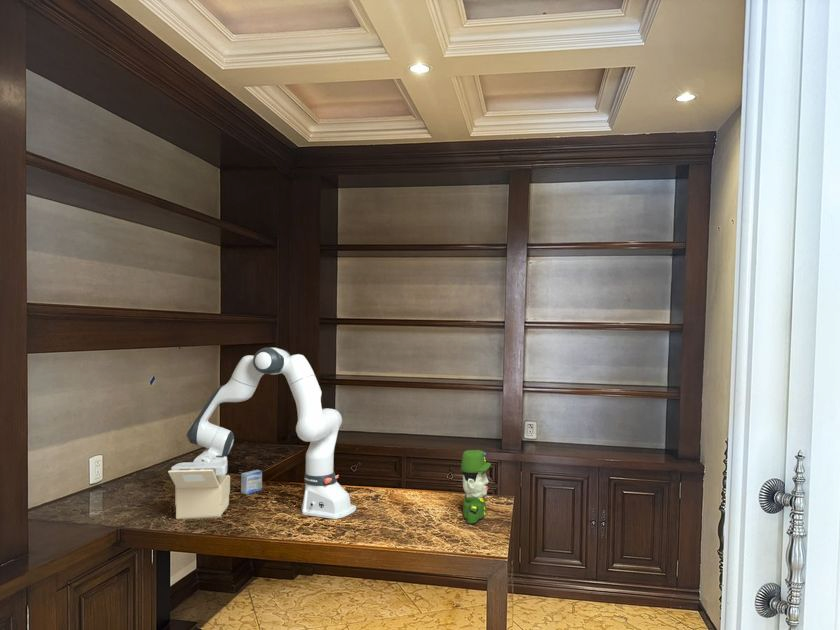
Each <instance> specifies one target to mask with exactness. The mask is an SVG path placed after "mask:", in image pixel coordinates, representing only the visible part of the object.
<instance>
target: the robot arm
mask: <svg viewBox="0 0 840 630" xmlns="http://www.w3.org/2000/svg"><path fill="white" fill-rule="evenodd" d="M281 374H282V375H283V376H285V378H286V381H287V383H288V386H289V389H290V391H291V393H292V396H293V399H294V401H295V405H296V411H297V423H296V425H295V432H296V434H297V437H298V438H299V439H300V440H302V441H303V442H307V443H308V442H310V443H309V446H308V449H307V450H306V453H305V472H304V483H305V484H304V493H303V500H302V504H301V509H300V510H301V514H302V515H305V516H311V517H317V518H326V519H332V520H336V519H337V520H338V519H341V518H344V517H347V516H349V515H352V514H353V513H354V512H356V510H357V505H354V504H351V497H350V494H349V492H348V491H347V490H346V489H345V488H343V486H341V484H340V483H339V482H338V479H339V478H340V477H339V474H337V475H336V473H335V470H334V458H335V457H334V456H335V455H334V454H335V447H336V443H337V439H338V433H339V430H340V428H341V425H342V422H343V417H342V415H341V413H340V412H339V410H338V409H337V410H336V409H334V408H327V407H326V408H323V407H322V402H321V401H322V394H323V393H322V390H321V386H320V385H319V382H318V379H317V377H316V374H315V372H314V370H313V368H312V366H311V364H310V363H309V361H308V359H307V358H306V357H305V355H304V354H300V353H297V354H292V355H291V353H290V352H289V351H288V350H286V349H283V348H278V347H263V348H261V349H259V350H258V351H256V352H255V353H254V355H251V354H250V355H249V354H248V355H245V356H243V357H242V358H241V359H240V360H239V362H238V363H237V365H236V366H235V368H234V370H233V372H232V374H231V377H230V379H229V380H228V382H227V383H226V384H224V385H220V386H218V387H217V389H215V390H214V391H213V393H212V395H211V396H210V398H209V399H208V400H207V402H206V404H205V405H204V406H203V408H202V409H201V411H200V412H199V413H198V416H197V417H196V418H195V420H194V421H193V422H192V423H191V424H190V426H189V428H188V429H187V433H186V437H187V440H188V442H189V443H190V444H193V445H196V446H201V447H203V448H205V449H204V451H203V452H202V453H200V454H199V455H198V456H196V457H195V458H194V460H193V461H190V462H189V461H188V462H186V461H185V462H179V463H176V464H174V465H172V466H171V468H170V471H174V470H210V469H213V471H214V474H215V476H222V475H227V473H228V455H229V454H230V453H231V451H232V449H233V447H234V444H235V436H234V433H233V431H232V430H229V429H227V428H225V427H222V426H219V425H217V424H213V423H211V422H210V421H209V419H210V418H211V416H212V414H213V413H214V411H215V410H216V409H217V407H218V405H220V404H223V403H240V402H245V401H247V400H250V399H251V398H252V397H253V395H254V393H255V392H256V389H257V388H258V385H259V382H260V380H261V378H262V377H263V376H264V375H275V376H276V375H281Z"/></svg>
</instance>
